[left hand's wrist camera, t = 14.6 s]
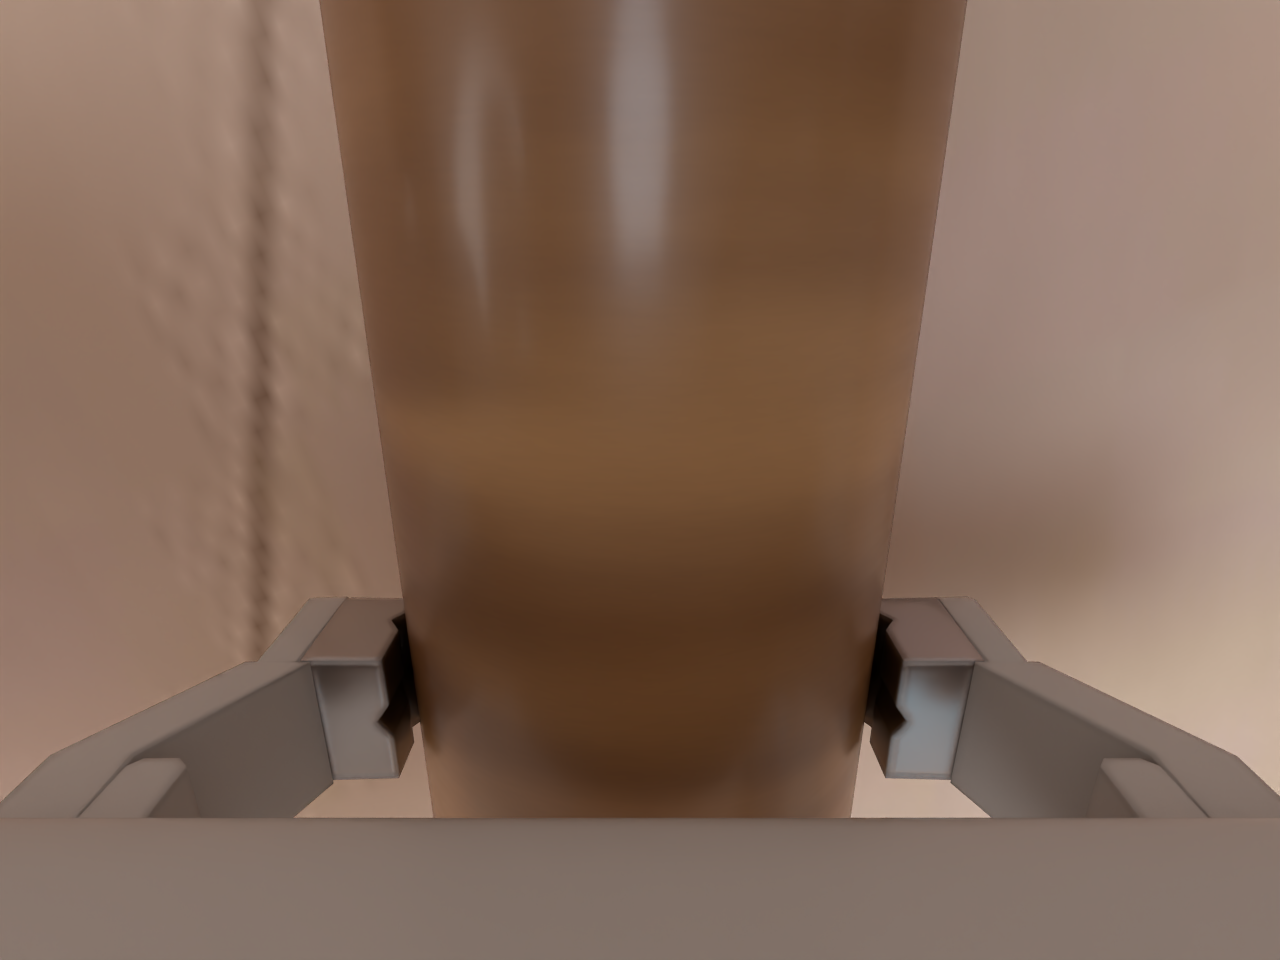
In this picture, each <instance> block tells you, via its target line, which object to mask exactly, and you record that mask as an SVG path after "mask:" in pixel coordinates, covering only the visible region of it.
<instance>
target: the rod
mask: <svg viewBox="0 0 1280 960" xmlns="http://www.w3.org/2000/svg"><path fill="white" fill-rule="evenodd" d="M319 2H320V9H321V16H322V23H323V30H324V37H325V45H326V52H327V59H328V66H329V73H330V80H331V87H332V95H333V102H334V109H335V116H336V123H337V130H338V138H339V145H340V152H341V159H342V166H343V173H344V180H345V188H346V195H347V202H348V209H349V216H350V223H351V231H352V238H353V245H354V252H355V259H356V266H357V273H358V281H359V288H360V295H361V302H362V309H363V316H364V323H365V331H366V338H367V345H368V352H369V359H370V366H371V374H372V381H373V388H374V395H375V402H376V409H377V416H378V424H379V431H380V438H381V445H382V452H383V459H384V467H385V474H386V481H387V488H388V495H389V502H390V509H391V517H392V524H393V531H394V538H395V545H396V552H397V560H398V567H399V574H400V581H401V588H402V595H403V602H404V610H405V617H406V624H407V631H408V638H409V645H410V652H411V660H412V667H413V674H414V681H415V688H416V695H417V703H418V710H419V717H420V724H421V731H422V738H423V745H424V753H425V760H426V767H427V774H428V781H429V788H430V796H431V803H432V810H433V817H434V818H850V817H851V810H852V803H853V796H854V789H855V782H856V775H857V768H858V761H859V754H860V747H861V740H862V733H863V726H864V719H865V712H866V705H867V698H868V691H869V684H870V677H871V670H872V663H873V656H874V649H875V642H876V635H877V628H878V621H879V614H880V607H881V600H882V593H883V586H884V579H885V572H886V565H887V558H888V551H889V544H890V537H891V530H892V523H893V516H894V509H895V502H896V495H897V488H898V481H899V474H900V467H901V460H902V453H903V446H904V439H905V432H906V425H907V418H908V411H909V404H910V397H911V390H912V383H913V376H914V369H915V362H916V355H917V348H918V341H919V334H920V327H921V320H922V313H923V306H924V299H925V292H926V285H927V278H928V271H929V264H930V257H931V250H932V243H933V236H934V229H935V222H936V215H937V208H938V201H939V194H940V187H941V180H942V173H943V166H944V159H945V152H946V145H947V138H948V131H949V124H950V117H951V110H952V103H953V96H954V89H955V82H956V75H957V68H958V61H959V54H960V47H961V40H962V33H963V26H964V19H965V12H966V5H967V0H319Z"/></svg>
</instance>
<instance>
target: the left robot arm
mask: <svg viewBox="0 0 1280 960" xmlns="http://www.w3.org/2000/svg"><path fill="white" fill-rule="evenodd" d="M419 722H420V717H419V710H418V703H417V695H416V688H415V681H414V674H413V667H412V660H411V652H410V645H409V638H408V631H407V624H406V617H405V610H404V602H403V598H360V597H352V598H349V597H316V598H311V599H309V600H308V601H307V602H306V603H305V604H304V606H303V607H302V608H301V609H300V611H299V612H298V613H297V614H296V615H295V617H294V618H293V619H292V620H291V621H290V623H289V624H288V625H287V626H286V627H285V629H284V630H283V631H282V632H281V633H280V635H279V636H278V637H277V638H276V639H275V641H274V642H273V643H272V644H271V645H270V647H269V648H268V649H267V650H266V651H265V653H264V654H263V655H262V656H261V658H260V659H259V660H258V661H257V662H244V663H242V664H240V665H238V666H236V667H234V668H232V669H229V670H227V671H225V672H223V673H221V674H219V675H217V676H215V677H213V678H211V679H209V680H206V681H204V682H202V683H200V684H198V685H196V686H194V687H192V688H190V689H188V690H186V691H183V692H181V693H179V694H177V695H175V696H173V697H171V698H169V699H167V700H165V701H163V702H160V703H158V704H156V705H154V706H152V707H150V708H148V709H146V710H144V711H142V712H140V713H137V714H135V715H133V716H131V717H129V718H127V719H125V720H123V721H121V722H119V723H117V724H114V725H112V726H110V727H108V728H106V729H104V730H102V731H100V732H98V733H96V734H94V735H91V736H89V737H87V738H85V739H83V740H81V741H79V742H77V743H75V744H73V745H70V746H68V747H66V748H64V749H62V750H60V751H58V752H56V753H54V754H52V755H50V756H49V757H48V758H47V759H46V760H45V761H44V762H42V763H41V764H40V765H39V766H38V767H37V768H36V769H35V770H34V771H33V772H32V773H31V774H30V775H29V776H28V777H27V778H26V779H24V780H23V781H22V782H21V783H20V784H19V785H18V786H17V787H16V788H15V789H14V790H13V791H12V792H11V793H10V794H9V795H8V796H7V797H5V798H4V799H3V800H2V801H1V802H0V960H1280V796H1279V795H1278V794H1277V793H1275V792H1274V791H1273V790H1272V789H1271V788H1270V787H1269V786H1268V785H1267V784H1266V783H1265V782H1264V781H1263V780H1262V779H1261V778H1260V777H1258V776H1257V775H1256V774H1255V773H1254V772H1253V771H1252V770H1251V769H1250V768H1249V767H1248V766H1247V765H1246V764H1245V763H1244V762H1243V761H1241V760H1240V759H1239V758H1238V757H1237V756H1235V755H1233V754H1231V753H1229V752H1227V751H1225V750H1223V749H1221V748H1219V747H1217V746H1214V745H1212V744H1210V743H1208V742H1206V741H1204V740H1202V739H1200V738H1198V737H1196V736H1193V735H1191V734H1189V733H1187V732H1185V731H1183V730H1181V729H1179V728H1177V727H1175V726H1173V725H1170V724H1168V723H1166V722H1164V721H1162V720H1160V719H1158V718H1156V717H1154V716H1152V715H1149V714H1147V713H1145V712H1143V711H1141V710H1139V709H1137V708H1135V707H1133V706H1131V705H1129V704H1126V703H1124V702H1122V701H1120V700H1118V699H1116V698H1114V697H1112V696H1110V695H1108V694H1105V693H1103V692H1101V691H1099V690H1097V689H1095V688H1093V687H1091V686H1089V685H1087V684H1084V683H1082V682H1080V681H1078V680H1076V679H1074V678H1072V677H1070V676H1068V675H1066V674H1064V673H1061V672H1059V671H1057V670H1055V669H1053V668H1051V667H1049V666H1047V665H1045V664H1043V663H1040V662H1027V661H1026V659H1025V658H1024V657H1023V656H1022V655H1021V653H1020V652H1019V651H1018V650H1017V649H1016V647H1015V646H1014V645H1013V644H1012V643H1011V642H1010V640H1009V639H1008V638H1007V637H1006V636H1005V634H1004V633H1003V632H1002V631H1001V630H1000V628H999V627H998V626H997V625H996V624H995V623H994V621H993V620H992V619H991V618H990V617H989V615H988V614H987V613H986V612H985V611H984V609H983V608H982V607H981V606H980V605H979V603H978V602H977V601H976V600H975V599H972V598H970V597H943V598H900V599H882V600H881V607H880V614H879V621H878V628H877V635H876V642H875V649H874V656H873V663H872V670H871V677H870V684H869V691H868V698H867V705H866V712H865V719H864V722H865V723H867V724H868V725H869V726H871V727H872V729H871V737H870V743H871V746H872V748H873V750H874V753H875V755H876V757H877V760H878V762H879V764H880V767H881V769H882V771H883V774H884V776H885V778H903V779H940V780H951V783H952V784H953V785H954V786H955V787H956V788H957V789H959V790H960V791H961V792H962V793H963V794H964V795H966V796H967V797H968V798H969V799H970V800H972V801H973V802H974V803H975V804H976V805H977V806H979V807H980V808H981V809H982V810H983V811H984V812H986V813H987V814H988V815H989V816H990V817H992V818H293V817H294V816H295V815H297V814H298V813H299V812H300V811H301V810H303V809H304V808H305V807H306V806H307V805H308V804H310V803H311V802H312V801H313V800H314V799H315V798H317V797H318V796H319V795H320V794H321V793H322V792H324V791H325V790H326V789H327V788H328V787H330V786H331V785H332V784H333V780H344V779H379V778H399V776H400V774H401V772H402V769H403V767H404V765H405V762H406V760H407V757H408V755H409V753H410V750H411V748H412V746H413V743H414V737H413V730H412V727H413V726H414V725H416V724H417V723H419Z"/></svg>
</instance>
